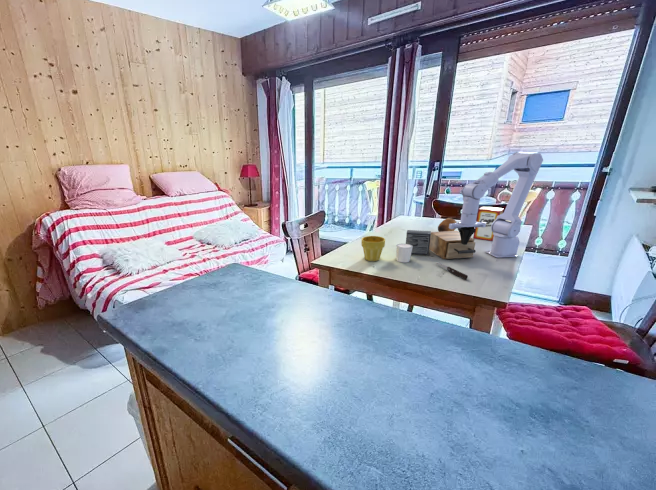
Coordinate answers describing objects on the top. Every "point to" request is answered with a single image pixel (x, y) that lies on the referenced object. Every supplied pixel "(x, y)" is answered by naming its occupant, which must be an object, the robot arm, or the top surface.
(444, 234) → the cabinet
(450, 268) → the kitchen knife
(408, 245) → the white tapered cylinder
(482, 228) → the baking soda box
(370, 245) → the flower pot
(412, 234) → the small box
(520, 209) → the robot arm
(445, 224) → the potato
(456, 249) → the drawer
